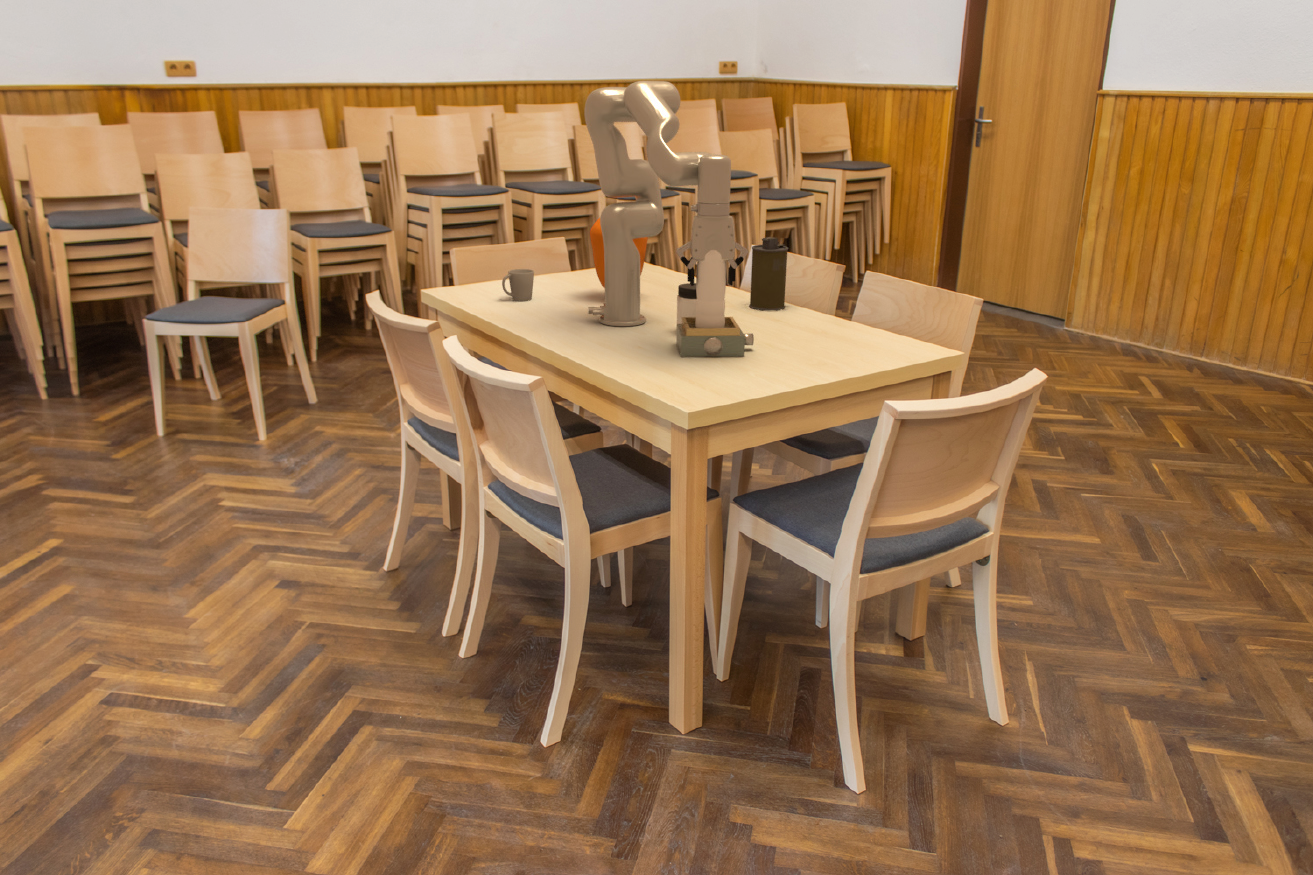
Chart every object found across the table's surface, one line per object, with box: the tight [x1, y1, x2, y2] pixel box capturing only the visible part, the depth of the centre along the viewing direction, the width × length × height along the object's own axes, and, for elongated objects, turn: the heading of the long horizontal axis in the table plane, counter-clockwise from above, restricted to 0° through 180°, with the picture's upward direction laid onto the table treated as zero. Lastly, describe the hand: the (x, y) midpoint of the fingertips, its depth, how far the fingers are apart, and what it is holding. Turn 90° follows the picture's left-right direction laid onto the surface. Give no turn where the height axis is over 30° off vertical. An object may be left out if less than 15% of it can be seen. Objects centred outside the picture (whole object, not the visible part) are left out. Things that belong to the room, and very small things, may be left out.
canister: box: [749, 236, 789, 311], centre depth 280 cm, size 11×10×20 cm
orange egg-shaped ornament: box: [589, 217, 649, 289], centre depth 288 cm, size 17×17×25 cm
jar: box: [676, 282, 697, 325], centre depth 251 cm, size 9×8×12 cm
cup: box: [501, 268, 535, 302], centre depth 288 cm, size 8×10×8 cm
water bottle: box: [695, 249, 727, 328], centre depth 230 cm, size 7×7×25 cm
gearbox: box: [675, 316, 755, 358], centre depth 234 cm, size 18×14×7 cm
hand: (711, 284), depth 230 cm, fingers open, 8 cm apart
